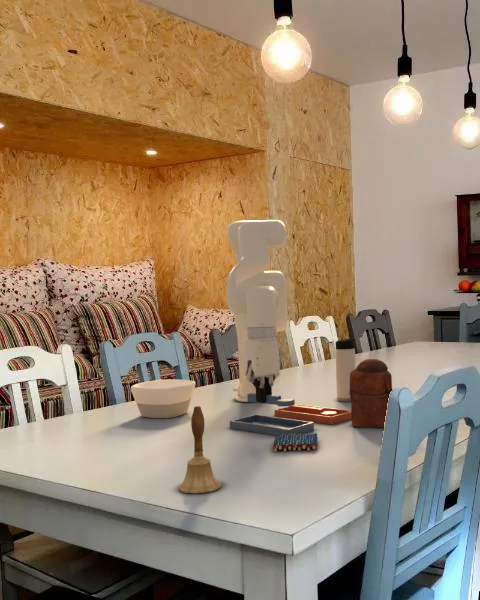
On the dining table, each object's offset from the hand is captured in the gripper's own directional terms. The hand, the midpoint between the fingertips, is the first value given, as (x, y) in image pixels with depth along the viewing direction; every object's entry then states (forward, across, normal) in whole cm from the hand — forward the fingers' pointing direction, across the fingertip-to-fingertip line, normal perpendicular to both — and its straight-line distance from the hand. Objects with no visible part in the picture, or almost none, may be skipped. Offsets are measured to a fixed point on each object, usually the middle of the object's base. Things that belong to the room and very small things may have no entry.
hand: (264, 401), depth 194 cm
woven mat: (+8, +11, +20) cm, 24 cm away
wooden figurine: (+8, -17, +23) cm, 30 cm away
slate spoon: (0, 0, +2) cm, 2 cm away
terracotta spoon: (+7, -18, +2) cm, 19 cm away
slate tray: (+7, 0, +2) cm, 8 cm away
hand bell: (+8, +47, +26) cm, 54 cm away
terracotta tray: (+7, -18, +2) cm, 20 cm away
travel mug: (+7, -45, -6) cm, 46 cm away
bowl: (+7, +2, -40) cm, 40 cm away
